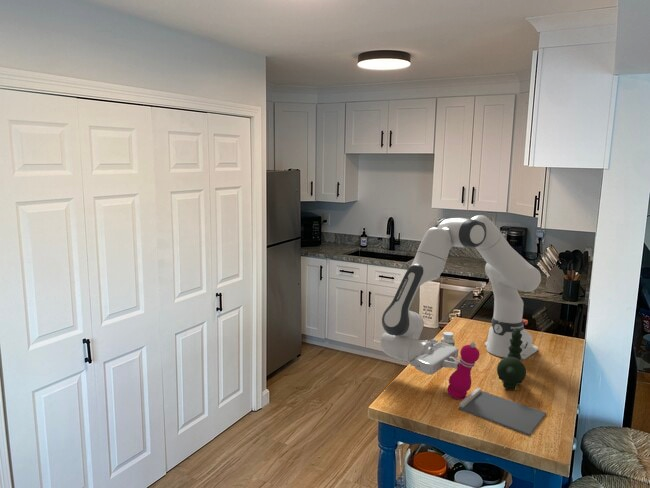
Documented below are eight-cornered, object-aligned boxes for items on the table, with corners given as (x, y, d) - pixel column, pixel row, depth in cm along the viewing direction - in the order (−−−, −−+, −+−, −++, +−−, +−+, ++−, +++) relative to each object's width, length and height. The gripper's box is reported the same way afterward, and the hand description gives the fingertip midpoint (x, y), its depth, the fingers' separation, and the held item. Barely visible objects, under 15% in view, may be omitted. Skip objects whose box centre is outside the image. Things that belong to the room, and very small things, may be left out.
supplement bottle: (446, 352, 197) (447, 330, 195) (456, 356, 192) (458, 334, 190) (437, 354, 194) (438, 332, 192) (447, 359, 189) (448, 336, 187)
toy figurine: (499, 371, 184) (493, 393, 161) (504, 323, 182) (498, 338, 159) (526, 376, 180) (523, 399, 157) (531, 327, 178) (528, 344, 155)
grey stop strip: (459, 408, 152) (459, 402, 152) (477, 392, 163) (477, 387, 163) (462, 409, 152) (463, 404, 151) (480, 393, 162) (480, 388, 162)
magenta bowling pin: (470, 395, 161) (488, 345, 154) (460, 403, 156) (479, 351, 149) (451, 384, 165) (468, 334, 158) (441, 391, 160) (458, 340, 153)
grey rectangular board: (458, 409, 152) (458, 407, 152) (478, 391, 164) (478, 389, 164) (529, 435, 138) (529, 434, 138) (545, 414, 150) (546, 412, 150)
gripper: (407, 354, 159) (445, 366, 150) (436, 337, 174) (472, 347, 165) (406, 371, 160) (444, 384, 151) (435, 353, 175) (471, 364, 167)
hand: (459, 365), depth 158 cm, fingers closed
